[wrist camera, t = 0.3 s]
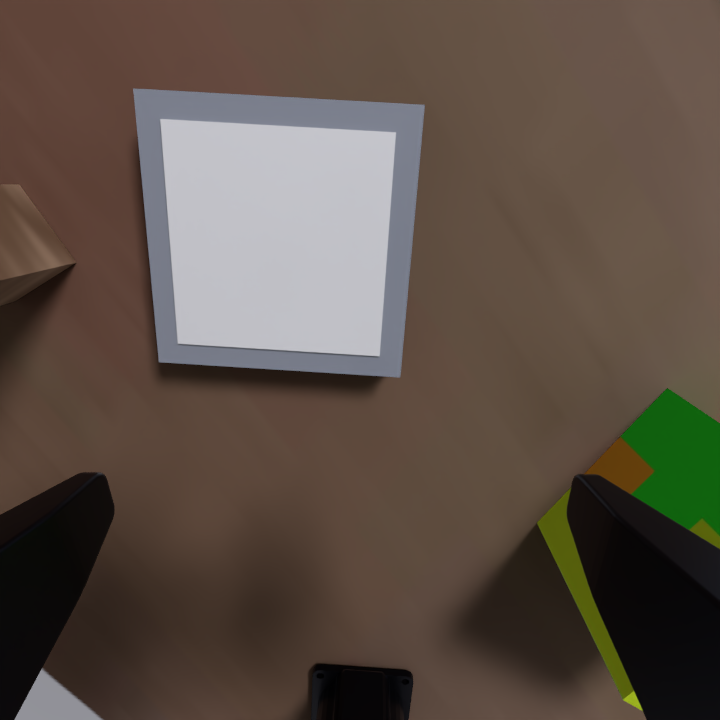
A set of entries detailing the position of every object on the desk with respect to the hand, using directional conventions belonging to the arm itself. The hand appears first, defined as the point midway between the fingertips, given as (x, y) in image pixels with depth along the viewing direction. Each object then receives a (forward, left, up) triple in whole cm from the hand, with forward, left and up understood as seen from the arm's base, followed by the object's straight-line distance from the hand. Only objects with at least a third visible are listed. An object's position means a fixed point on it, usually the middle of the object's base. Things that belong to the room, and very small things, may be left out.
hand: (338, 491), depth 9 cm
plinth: (+3, +4, -15) cm, 15 cm away
